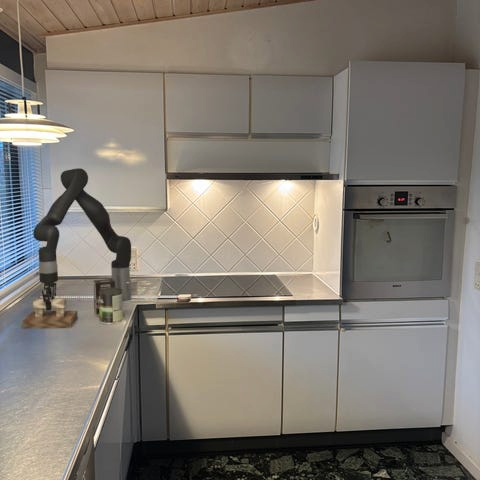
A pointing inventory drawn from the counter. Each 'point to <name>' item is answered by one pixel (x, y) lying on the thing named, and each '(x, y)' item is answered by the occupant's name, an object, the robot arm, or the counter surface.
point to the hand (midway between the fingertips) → (50, 308)
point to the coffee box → (98, 286)
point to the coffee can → (110, 305)
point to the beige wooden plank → (56, 303)
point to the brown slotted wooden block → (50, 320)
